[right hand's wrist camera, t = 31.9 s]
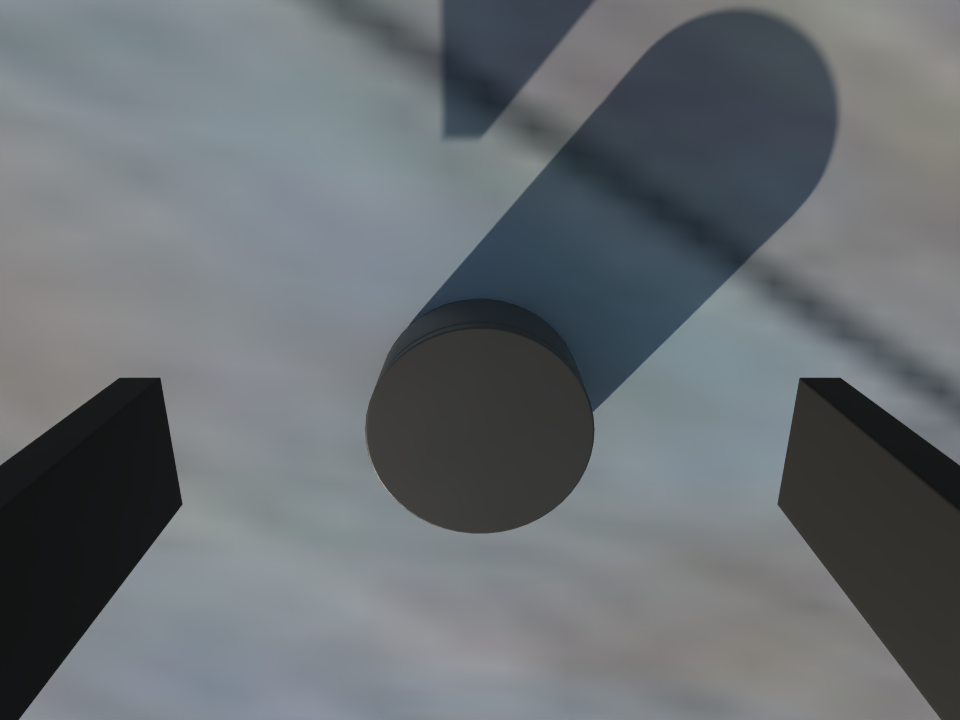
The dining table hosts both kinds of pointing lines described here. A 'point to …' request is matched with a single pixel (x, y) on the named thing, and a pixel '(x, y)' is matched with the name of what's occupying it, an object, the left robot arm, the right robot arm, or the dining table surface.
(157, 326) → the dining table surface
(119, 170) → the dining table surface
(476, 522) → the cap
